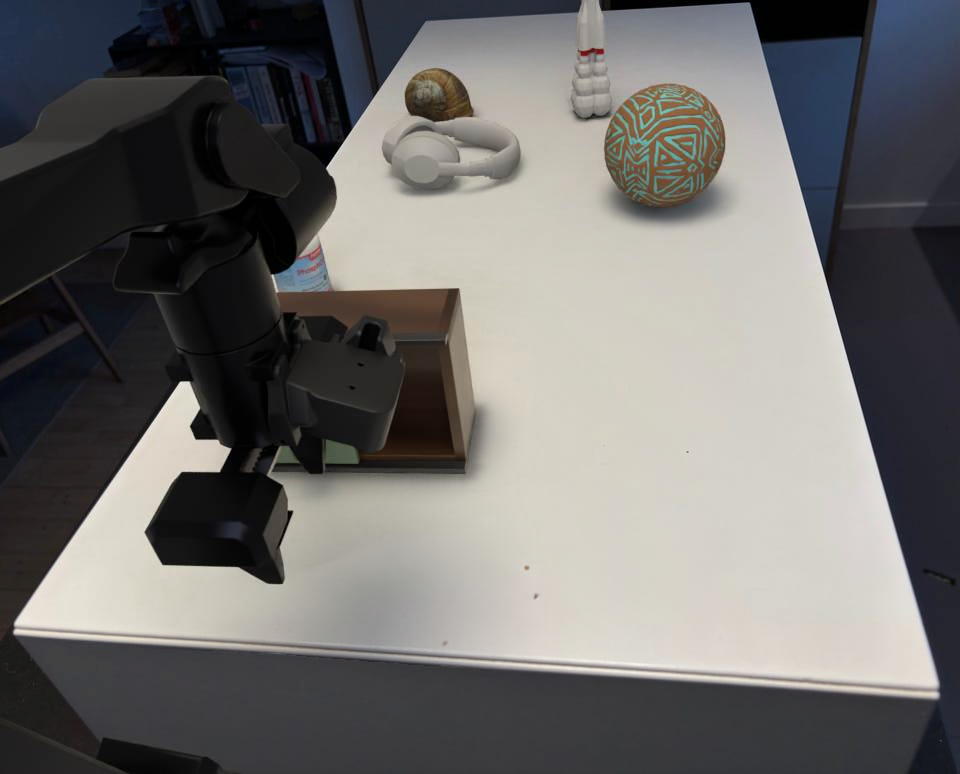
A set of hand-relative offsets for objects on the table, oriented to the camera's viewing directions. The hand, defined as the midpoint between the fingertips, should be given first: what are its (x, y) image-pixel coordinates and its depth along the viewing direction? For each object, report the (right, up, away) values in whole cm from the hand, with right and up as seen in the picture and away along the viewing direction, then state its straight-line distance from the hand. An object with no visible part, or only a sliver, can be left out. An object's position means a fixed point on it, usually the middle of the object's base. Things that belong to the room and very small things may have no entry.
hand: (298, 523), depth 52 cm
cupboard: (+1, +4, +24) cm, 25 cm away
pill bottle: (-9, +19, +44) cm, 49 cm away
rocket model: (+30, +54, +82) cm, 103 cm away
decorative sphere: (+36, +33, +56) cm, 74 cm away
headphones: (+8, +41, +70) cm, 82 cm away
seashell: (+5, +55, +88) cm, 103 cm away
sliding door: (-4, +1, +20) cm, 20 cm away
